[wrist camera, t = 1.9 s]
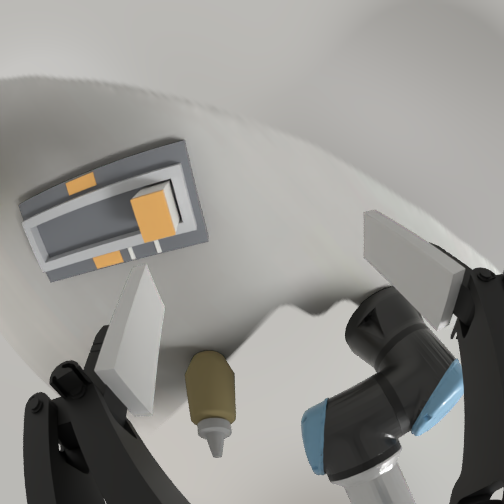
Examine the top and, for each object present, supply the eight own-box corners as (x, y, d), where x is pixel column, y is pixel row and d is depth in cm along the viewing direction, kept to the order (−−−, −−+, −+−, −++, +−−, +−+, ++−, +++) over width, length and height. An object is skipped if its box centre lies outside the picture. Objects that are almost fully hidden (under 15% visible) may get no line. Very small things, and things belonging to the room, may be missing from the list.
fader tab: (169, 179, 28) (162, 190, 23) (179, 217, 30) (175, 234, 25) (142, 187, 27) (130, 200, 23) (153, 224, 29) (144, 243, 25)
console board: (184, 139, 28) (182, 141, 25) (208, 235, 33) (208, 246, 30) (25, 200, 26) (12, 208, 23) (56, 275, 32) (46, 288, 29)
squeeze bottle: (176, 365, 43) (175, 459, 27) (200, 338, 41) (206, 440, 25) (215, 380, 46) (225, 467, 30) (241, 355, 44) (261, 449, 28)
